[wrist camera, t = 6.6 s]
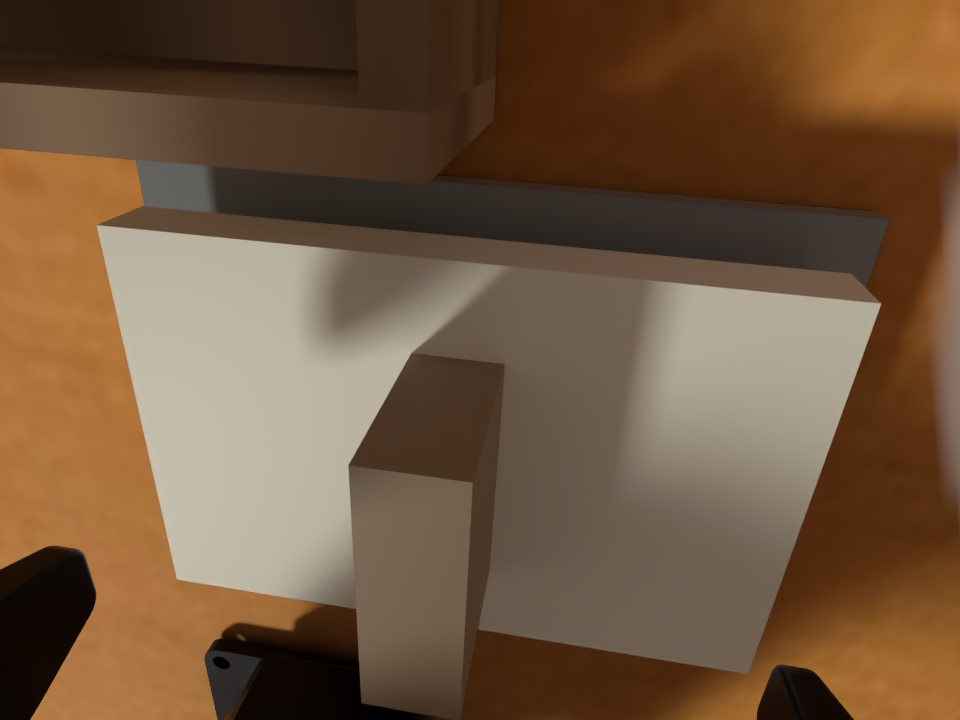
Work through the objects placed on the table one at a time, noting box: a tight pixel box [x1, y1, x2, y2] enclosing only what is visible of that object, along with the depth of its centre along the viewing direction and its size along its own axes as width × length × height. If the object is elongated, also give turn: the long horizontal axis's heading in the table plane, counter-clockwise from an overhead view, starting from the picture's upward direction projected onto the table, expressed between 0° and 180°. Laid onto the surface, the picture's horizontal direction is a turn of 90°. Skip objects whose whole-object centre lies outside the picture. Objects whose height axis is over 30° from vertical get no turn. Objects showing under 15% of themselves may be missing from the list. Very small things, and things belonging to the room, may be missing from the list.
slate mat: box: [136, 160, 889, 288], centre depth 14 cm, size 9×13×1 cm
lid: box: [97, 206, 881, 720], centre depth 11 cm, size 12×8×5 cm, turn 87°
